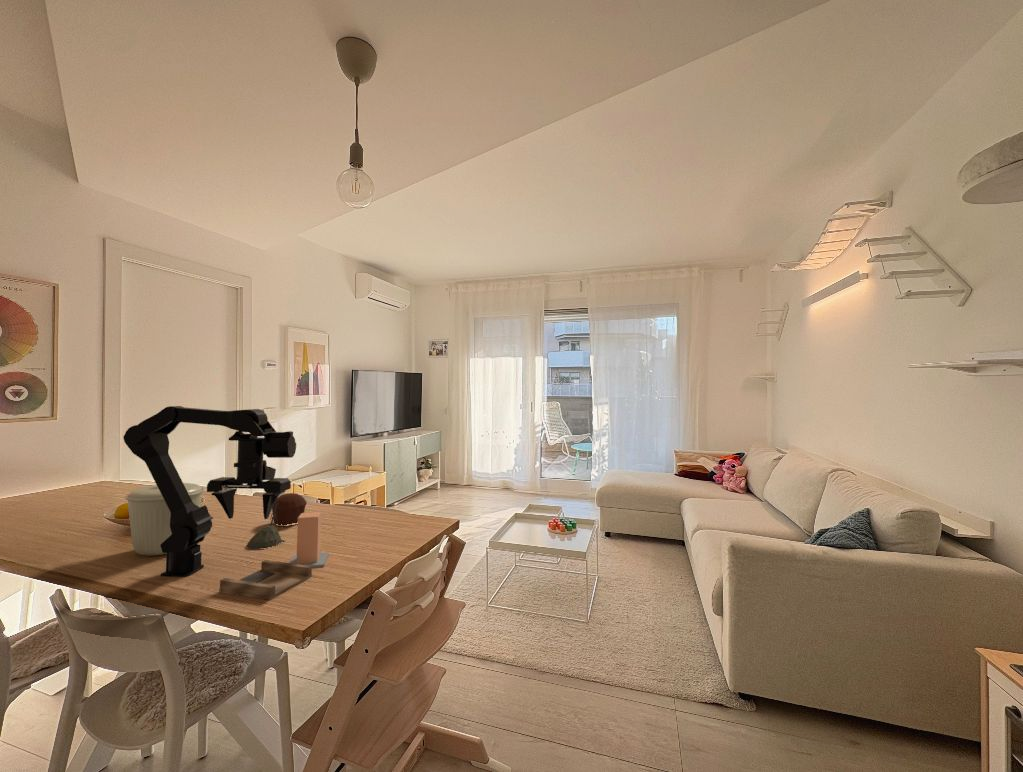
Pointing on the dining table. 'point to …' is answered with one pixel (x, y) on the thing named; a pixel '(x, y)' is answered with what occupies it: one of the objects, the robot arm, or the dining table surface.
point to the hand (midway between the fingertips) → (248, 518)
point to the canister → (153, 517)
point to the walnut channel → (268, 580)
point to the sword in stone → (265, 536)
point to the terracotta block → (308, 537)
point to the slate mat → (319, 563)
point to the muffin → (288, 508)
